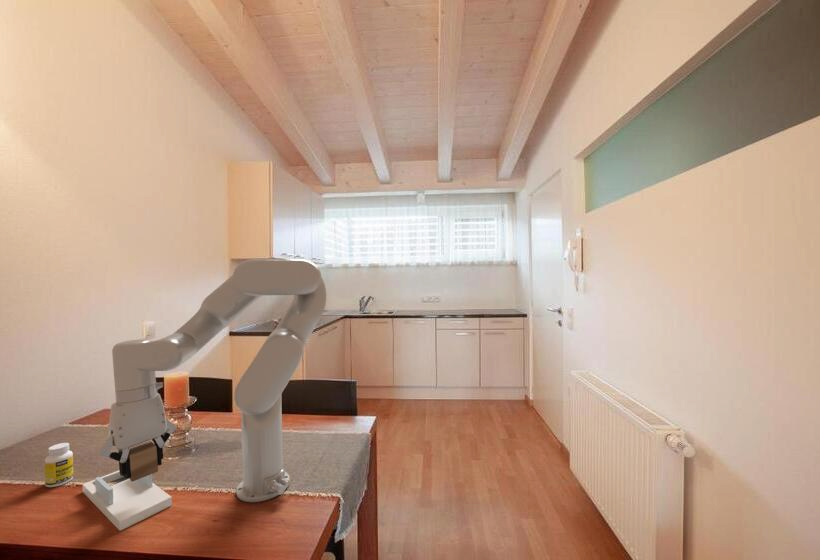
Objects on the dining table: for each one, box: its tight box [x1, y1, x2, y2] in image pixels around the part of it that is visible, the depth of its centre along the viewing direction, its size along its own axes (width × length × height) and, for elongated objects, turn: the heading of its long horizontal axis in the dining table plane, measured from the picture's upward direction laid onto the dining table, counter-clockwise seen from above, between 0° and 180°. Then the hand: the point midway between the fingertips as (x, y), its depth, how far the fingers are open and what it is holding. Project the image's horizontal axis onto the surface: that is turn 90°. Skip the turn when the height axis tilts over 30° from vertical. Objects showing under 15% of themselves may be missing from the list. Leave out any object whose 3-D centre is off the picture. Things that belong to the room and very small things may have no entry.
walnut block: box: [128, 440, 159, 482], centre depth 83 cm, size 5×5×6 cm
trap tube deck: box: [82, 470, 173, 531], centre depth 87 cm, size 26×10×6 cm, turn 56°
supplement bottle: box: [44, 442, 74, 488], centre depth 95 cm, size 5×5×10 cm
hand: (142, 469), depth 82 cm, fingers closed on walnut block, 5 cm apart
